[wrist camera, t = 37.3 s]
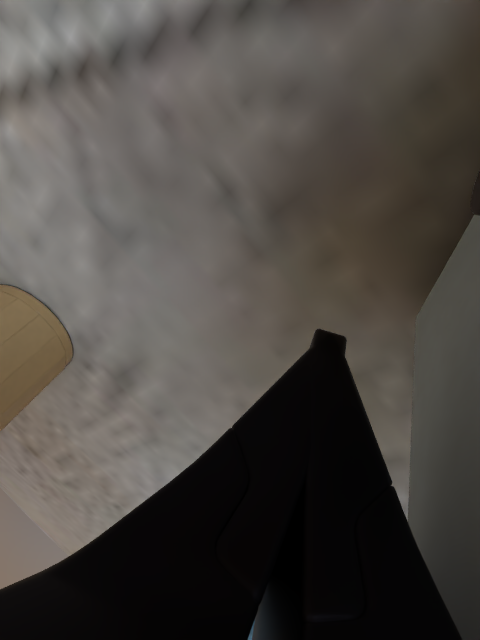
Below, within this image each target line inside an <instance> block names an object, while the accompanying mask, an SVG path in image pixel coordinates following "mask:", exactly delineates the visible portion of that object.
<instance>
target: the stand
mask: <svg viewBox="0 0 480 640" xmlns="http://www.w3.org/2000/svg"><path fill="white" fill-rule="evenodd" d="M72 355H73V349H72V344H71V341H70V338H69V336H68V334H67V332H66V330H65V328H64V327H63V325H62V324H61V323H60V321H59V320H58V319H57V318H56V316H55V315H54V314H53V313H52V312H51V311H50V310H49V309H48V308H47V307H46V306H45V305H44V304H42V303H41V302H40V301H39V300H37V299H36V298H34V297H33V296H31V295H30V294H28V293H26V292H24V291H23V290H20V289H18V288H15V287H12V286H8V285H0V431H1V430H2V429H3V428H4V427H5V426H6V425H8V424H9V423H10V422H11V421H12V420H13V419H14V418H15V417H16V416H17V415H18V414H19V413H20V412H21V411H22V410H23V409H24V408H25V407H26V406H27V405H28V404H29V403H30V402H31V401H32V400H33V399H34V398H35V397H36V396H37V395H38V394H39V393H40V392H41V391H42V390H43V389H44V388H45V387H46V386H47V385H48V384H49V383H50V382H51V381H52V380H53V379H54V378H55V377H56V376H57V375H59V374H60V373H61V372H62V371H63V370H64V369H65V367H66V366H67V365H68V364H69V363H70V361H71V359H72Z"/></svg>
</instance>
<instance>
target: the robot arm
mask: <svg viewBox="0 0 480 640" xmlns="http://www.w3.org/2000/svg"><path fill="white" fill-rule="evenodd" d="M346 341H347V340H346V337H345V336H342V335H339V334H335V333H332V332H329V331H326V330H322V329H317V330H316V331H315V333H314V336H313V339H312V342H311V345H310V348H309V349H308V350H307V351H306V352H305V353H304V354H303V355H302V356H301V357H300V358H299V359H298V360H297V361H296V362H295V363H294V364H293V365H292V366H291V367H290V368H289V369H288V370H287V371H286V372H285V373H284V375H283V376H282V377H281V378H280V379H279V380H278V381H277V382H276V383H275V384H274V385H273V386H272V387H271V388H270V389H269V390H268V391H267V392H266V393H265V394H264V395H263V396H262V397H261V398H260V399H259V400H258V401H257V402H256V403H255V404H254V405H253V406H252V407H251V408H250V409H249V410H248V411H247V412H246V413H245V414H244V415H243V416H242V417H241V418H240V419H239V420H238V421H237V422H236V423H235V424H234V425H233V426H232V428H230V429H228V430H227V431H226V432H225V433H224V434H223V435H222V436H221V437H220V438H219V439H218V440H217V441H216V442H215V443H214V444H213V445H212V446H211V447H210V448H209V449H208V450H207V451H206V452H205V453H203V454H202V455H201V456H200V457H199V458H198V459H197V460H196V461H195V462H194V463H192V464H191V465H190V466H189V467H188V468H186V469H185V470H184V471H183V472H181V473H180V474H179V475H178V476H177V477H175V478H174V479H173V480H172V481H170V482H169V483H168V484H167V485H165V486H164V487H163V488H161V489H160V490H159V491H157V492H156V493H155V494H154V495H152V496H151V497H150V498H148V499H147V500H146V501H144V502H143V503H142V504H140V505H139V506H138V507H136V508H135V509H134V510H133V511H131V512H130V513H129V514H127V515H126V516H125V517H123V518H122V519H121V520H119V521H118V522H117V523H116V524H114V525H113V526H112V527H110V528H109V529H108V530H106V531H105V532H104V533H102V534H101V535H100V536H98V537H97V538H96V539H94V540H93V541H92V542H90V543H89V544H87V545H86V546H84V547H83V548H81V549H80V550H78V551H77V552H75V553H74V554H72V555H71V556H69V557H67V558H66V559H64V560H62V561H61V562H59V563H57V564H55V565H53V566H51V567H49V568H47V569H45V570H43V571H41V572H39V573H37V574H35V575H32V576H30V577H28V578H25V579H23V580H21V581H18V582H16V583H14V584H12V585H9V586H7V587H5V588H3V589H0V640H248V637H249V634H250V631H251V629H252V626H253V623H254V620H255V623H254V630H253V636H252V640H462V638H461V635H460V633H459V631H458V629H457V627H456V625H455V623H454V621H453V619H452V617H451V615H450V613H449V611H448V609H447V607H446V605H445V603H444V601H443V599H442V597H441V595H440V593H439V591H438V589H437V587H436V584H435V582H434V580H433V578H432V576H431V574H430V572H429V569H428V567H427V565H426V563H425V561H424V559H423V557H422V555H421V552H420V550H419V548H418V546H417V544H416V541H415V539H414V536H413V534H412V531H411V529H410V526H409V524H408V522H407V519H406V517H405V514H404V512H403V509H402V506H401V504H400V501H399V498H398V496H397V493H396V490H395V488H394V487H393V486H391V485H392V480H391V477H390V475H389V472H388V469H387V467H386V464H385V462H384V459H383V456H382V454H381V451H380V448H379V446H378V443H377V440H376V438H375V435H374V432H373V430H372V427H371V424H370V422H369V419H368V416H367V414H366V411H365V408H364V406H363V403H362V400H361V398H360V395H359V392H358V390H357V387H356V384H355V382H354V379H353V376H352V374H351V371H350V368H349V366H348V363H347V360H346V358H345V350H346Z"/></svg>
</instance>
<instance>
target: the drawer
mask: <svg viewBox="0 0 480 640" xmlns="http://www.w3.org/2000/svg"><path fill="white" fill-rule="evenodd" d="M471 211H472V212H473V213H474V216H473V218H472V219H471V221H470V223H469V225H468V226H467V228H466V230H465V232H464V234H463V235H462V237H461V239H460V241H459V242H458V244H457V246H456V248H455V249H454V251H453V253H452V255H451V257H450V258H449V260H448V262H447V264H446V265H445V267H444V269H443V271H442V272H441V274H440V276H439V278H438V280H437V281H436V283H435V285H434V287H433V288H432V290H431V292H430V294H429V295H428V297H427V299H426V301H425V303H424V304H423V306H422V308H421V310H420V311H419V313H418V315H417V317H416V327H415V352H414V377H413V402H412V427H411V452H410V477H409V502H408V524H409V526H410V529H411V531H412V534H413V536H414V539H415V541H416V544H417V546H418V548H419V550H420V552H421V555H422V557H423V559H424V561H425V563H426V565H427V567H428V569H429V572H430V574H431V576H432V578H433V580H434V582H435V584H436V587H437V589H438V591H439V593H440V595H441V597H442V599H443V601H444V603H445V605H446V607H447V609H448V611H449V613H450V615H451V617H452V619H453V621H454V623H455V625H456V627H457V629H458V631H459V633H460V635H461V638H462V640H480V170H479V173H478V176H477V178H476V181H475V185H474V188H473V192H472V197H471Z"/></svg>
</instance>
